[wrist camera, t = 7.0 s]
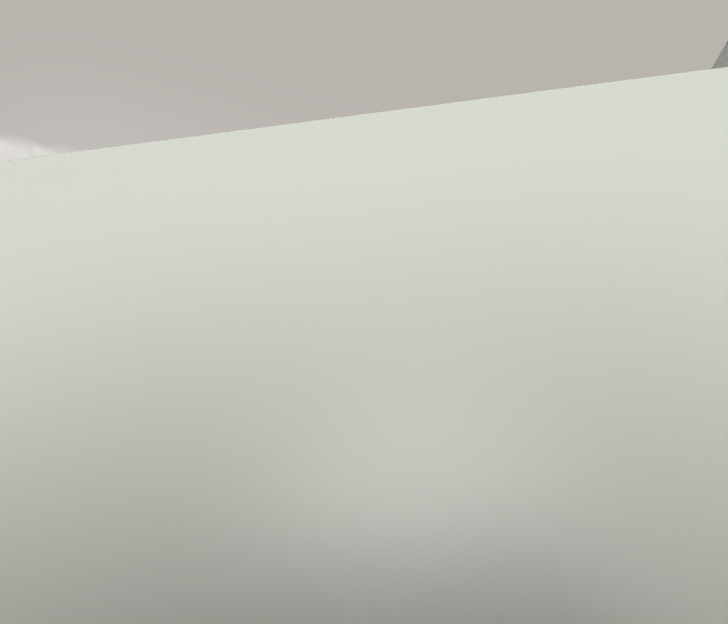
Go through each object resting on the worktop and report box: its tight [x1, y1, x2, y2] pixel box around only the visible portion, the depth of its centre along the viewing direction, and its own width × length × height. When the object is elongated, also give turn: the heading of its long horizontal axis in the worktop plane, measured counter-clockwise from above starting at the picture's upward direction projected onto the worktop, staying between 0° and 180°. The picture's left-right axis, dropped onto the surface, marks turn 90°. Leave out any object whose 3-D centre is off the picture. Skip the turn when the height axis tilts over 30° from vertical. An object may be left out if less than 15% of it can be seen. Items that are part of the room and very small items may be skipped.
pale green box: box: [0, 67, 728, 624], centre depth 8 cm, size 6×6×12 cm
